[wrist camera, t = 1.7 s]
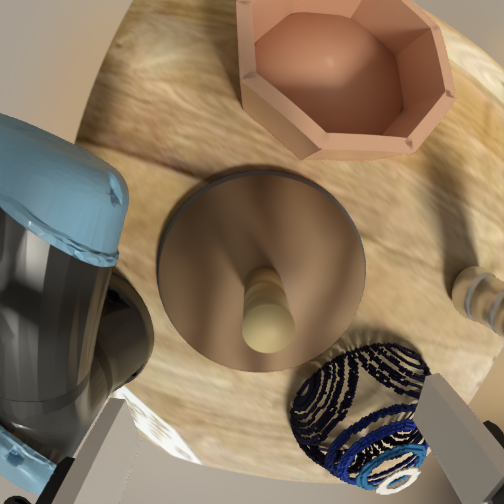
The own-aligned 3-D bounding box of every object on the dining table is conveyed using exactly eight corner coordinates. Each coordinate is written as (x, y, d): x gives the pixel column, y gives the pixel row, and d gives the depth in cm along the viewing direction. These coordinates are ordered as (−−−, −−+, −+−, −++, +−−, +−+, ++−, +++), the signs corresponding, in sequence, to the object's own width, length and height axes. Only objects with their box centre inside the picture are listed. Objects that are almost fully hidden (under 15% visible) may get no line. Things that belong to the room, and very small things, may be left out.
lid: (176, 368, 33) (152, 432, 22) (152, 183, 29) (101, 184, 18) (354, 358, 33) (387, 418, 22) (361, 174, 28) (416, 170, 18)
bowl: (245, 162, 29) (243, 151, 20) (237, 8, 25) (233, -40, 16) (413, 163, 28) (463, 159, 20) (392, 21, 25) (425, -14, 16)
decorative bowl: (263, 435, 36) (267, 519, 22) (345, 321, 32) (395, 399, 18) (370, 457, 38) (394, 522, 24) (448, 365, 34) (501, 423, 20)
